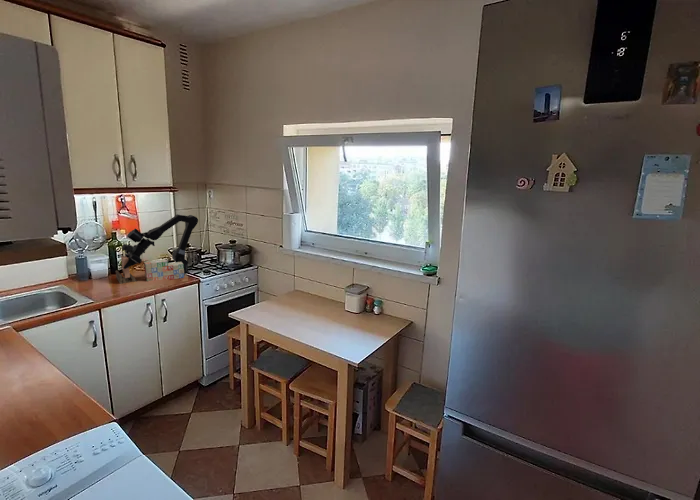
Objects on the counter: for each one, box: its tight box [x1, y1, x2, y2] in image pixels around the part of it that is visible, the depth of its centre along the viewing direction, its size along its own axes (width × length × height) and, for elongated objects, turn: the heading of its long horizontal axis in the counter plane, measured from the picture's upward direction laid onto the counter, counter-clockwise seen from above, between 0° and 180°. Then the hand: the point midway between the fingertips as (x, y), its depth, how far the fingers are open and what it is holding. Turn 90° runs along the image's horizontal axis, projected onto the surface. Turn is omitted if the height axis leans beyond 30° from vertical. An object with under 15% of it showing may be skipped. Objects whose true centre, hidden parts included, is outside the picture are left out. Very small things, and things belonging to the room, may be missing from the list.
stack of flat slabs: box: [115, 270, 138, 285], centre depth 226 cm, size 9×12×6 cm
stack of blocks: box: [143, 258, 185, 282], centre depth 233 cm, size 21×6×12 cm, turn 127°
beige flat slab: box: [120, 255, 131, 278], centre depth 225 cm, size 2×6×12 cm, turn 41°
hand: (122, 267), depth 224 cm, fingers closed on beige flat slab, 6 cm apart
